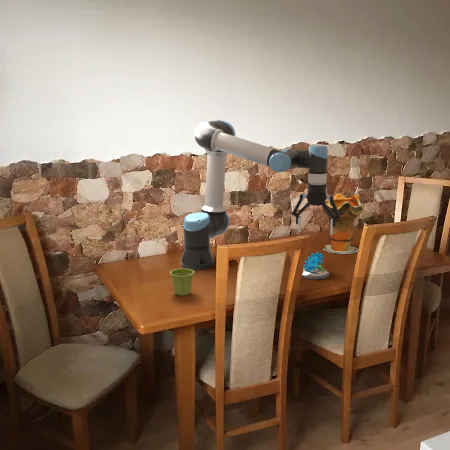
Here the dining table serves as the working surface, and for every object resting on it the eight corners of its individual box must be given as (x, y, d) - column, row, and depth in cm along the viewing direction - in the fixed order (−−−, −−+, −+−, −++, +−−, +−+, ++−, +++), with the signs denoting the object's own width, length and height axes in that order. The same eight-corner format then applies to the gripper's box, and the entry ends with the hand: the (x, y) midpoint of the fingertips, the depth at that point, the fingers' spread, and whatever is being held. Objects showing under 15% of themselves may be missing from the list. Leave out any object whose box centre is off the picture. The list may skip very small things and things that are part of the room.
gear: (299, 264, 227) (315, 247, 226) (306, 271, 230) (322, 255, 229) (310, 275, 217) (327, 258, 217) (318, 282, 220) (334, 266, 219)
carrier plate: (295, 277, 219) (296, 274, 219) (301, 268, 231) (301, 265, 231) (326, 281, 215) (326, 277, 215) (331, 271, 227) (331, 268, 227)
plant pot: (173, 288, 208) (172, 267, 206) (196, 289, 207) (196, 268, 205) (168, 297, 199) (167, 275, 197) (192, 297, 198) (192, 276, 196)
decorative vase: (314, 252, 254) (317, 196, 249) (324, 243, 275) (327, 191, 270) (357, 257, 246) (361, 199, 241) (364, 247, 267) (367, 193, 262)
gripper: (348, 183, 213) (346, 233, 218) (289, 180, 221) (288, 228, 226) (346, 186, 207) (344, 237, 212) (285, 183, 215) (284, 232, 220)
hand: (315, 233), depth 219 cm, fingers open, 13 cm apart
